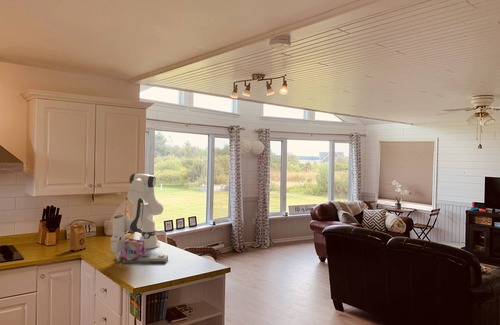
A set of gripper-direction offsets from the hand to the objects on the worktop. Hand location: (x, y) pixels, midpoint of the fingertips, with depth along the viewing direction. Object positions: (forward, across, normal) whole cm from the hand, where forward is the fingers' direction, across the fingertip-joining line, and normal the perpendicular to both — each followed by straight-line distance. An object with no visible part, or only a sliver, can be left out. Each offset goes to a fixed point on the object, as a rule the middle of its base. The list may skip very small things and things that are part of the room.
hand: (118, 254), depth 279 cm
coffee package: (+5, -37, -49) cm, 62 cm away
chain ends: (+5, +2, +21) cm, 21 cm away
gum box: (+5, -12, +6) cm, 14 cm away
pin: (+5, 0, 0) cm, 5 cm away
